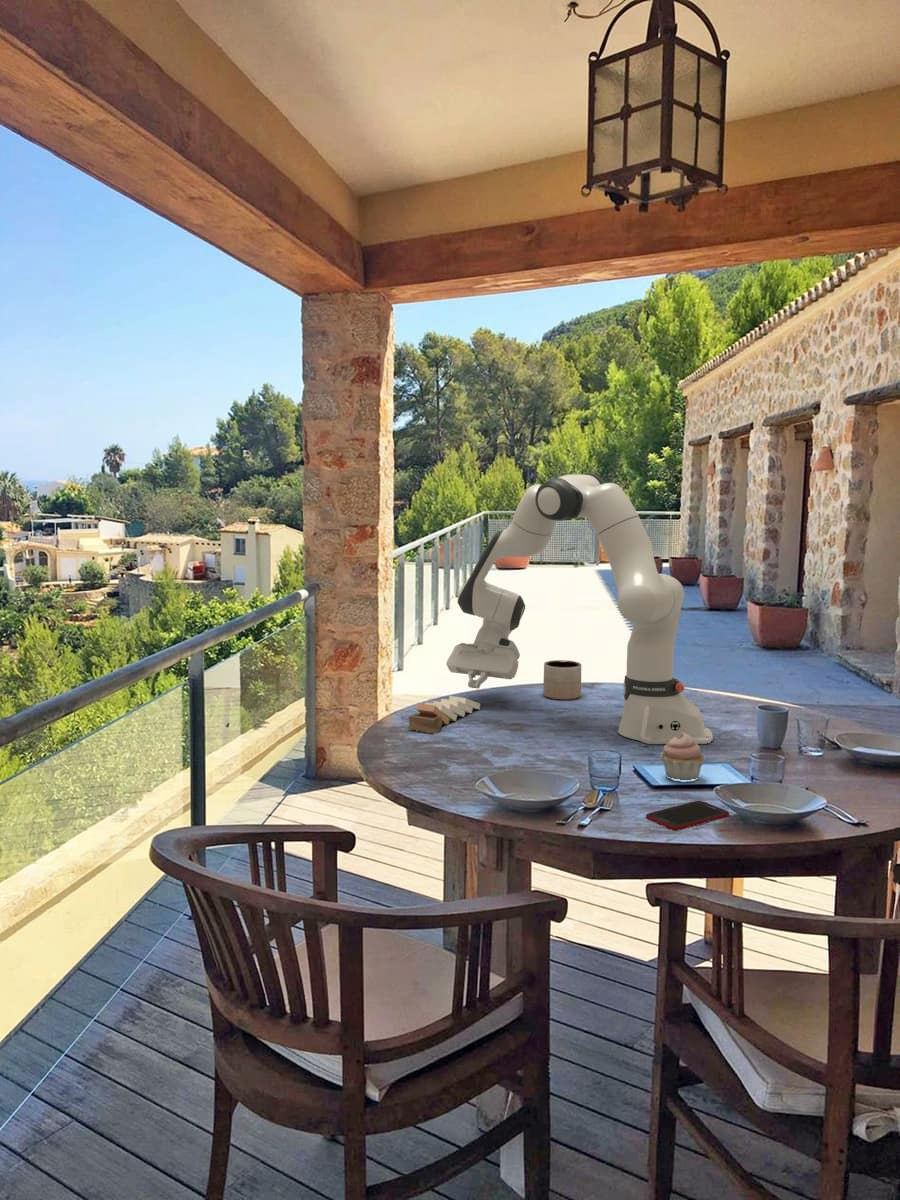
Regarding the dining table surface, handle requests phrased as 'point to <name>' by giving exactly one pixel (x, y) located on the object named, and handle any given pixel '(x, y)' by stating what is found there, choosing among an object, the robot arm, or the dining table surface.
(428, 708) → the domino
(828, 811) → the dining table surface
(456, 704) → the domino
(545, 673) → the planter
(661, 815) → the cell phone
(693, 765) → the cupcake
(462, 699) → the domino
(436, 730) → the block
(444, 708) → the domino
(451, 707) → the domino
